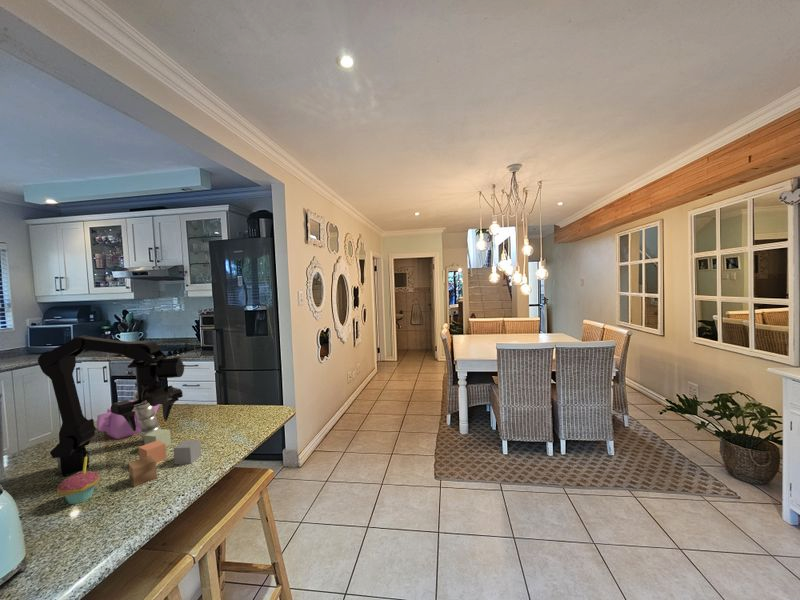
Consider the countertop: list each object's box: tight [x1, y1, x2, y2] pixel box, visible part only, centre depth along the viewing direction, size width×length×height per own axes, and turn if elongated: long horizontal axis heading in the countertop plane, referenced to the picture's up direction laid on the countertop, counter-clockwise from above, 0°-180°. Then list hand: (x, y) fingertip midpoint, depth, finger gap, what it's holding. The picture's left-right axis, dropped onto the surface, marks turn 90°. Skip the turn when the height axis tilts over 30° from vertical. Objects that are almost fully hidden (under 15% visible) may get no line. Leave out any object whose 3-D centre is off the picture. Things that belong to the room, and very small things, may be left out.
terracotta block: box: [138, 440, 167, 464], centre depth 113 cm, size 6×6×6 cm
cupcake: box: [56, 454, 101, 505], centre depth 93 cm, size 9×8×12 cm
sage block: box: [143, 428, 172, 447], centre depth 124 cm, size 6×6×6 cm
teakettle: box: [96, 399, 161, 440], centre depth 139 cm, size 17×17×12 cm
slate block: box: [172, 439, 202, 465], centre depth 113 cm, size 6×6×6 cm
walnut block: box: [128, 456, 158, 488], centre depth 102 cm, size 6×6×6 cm
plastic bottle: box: [132, 389, 162, 442], centre depth 128 cm, size 6×7×20 cm
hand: (150, 425), depth 113 cm, fingers open, 9 cm apart
